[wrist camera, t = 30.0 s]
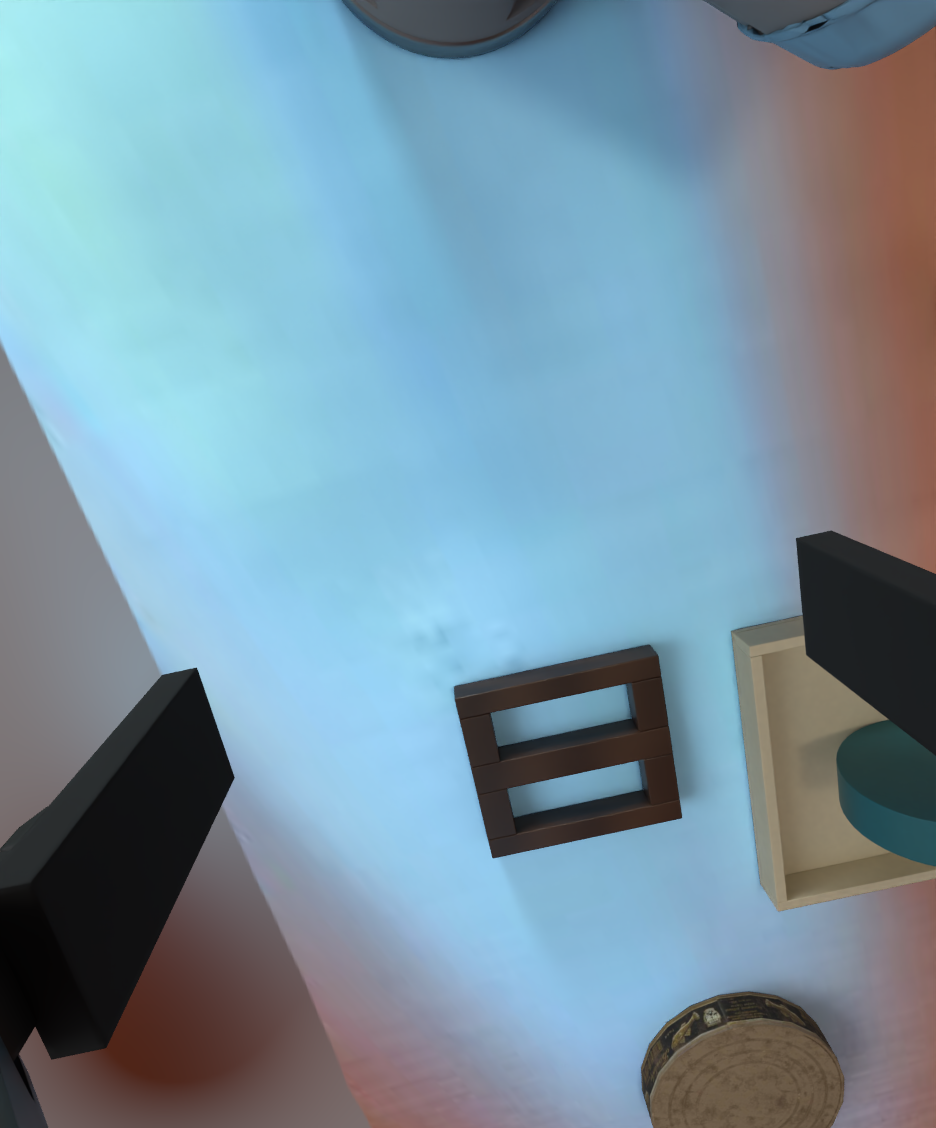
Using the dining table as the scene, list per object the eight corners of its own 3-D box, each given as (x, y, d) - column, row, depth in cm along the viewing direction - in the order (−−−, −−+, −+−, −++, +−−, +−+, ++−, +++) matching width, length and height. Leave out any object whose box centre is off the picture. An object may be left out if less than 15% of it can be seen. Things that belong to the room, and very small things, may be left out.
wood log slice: (630, 1138, 62) (639, 1175, 60) (652, 991, 58) (664, 1023, 55) (806, 1136, 63) (824, 1173, 61) (841, 992, 59) (863, 1024, 56)
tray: (730, 630, 50) (749, 646, 47) (964, 580, 50) (997, 593, 47) (760, 883, 56) (778, 912, 53) (969, 839, 56) (998, 865, 53)
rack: (490, 841, 54) (492, 858, 52) (453, 686, 50) (454, 698, 48) (673, 802, 54) (682, 818, 52) (649, 644, 50) (658, 655, 48)
